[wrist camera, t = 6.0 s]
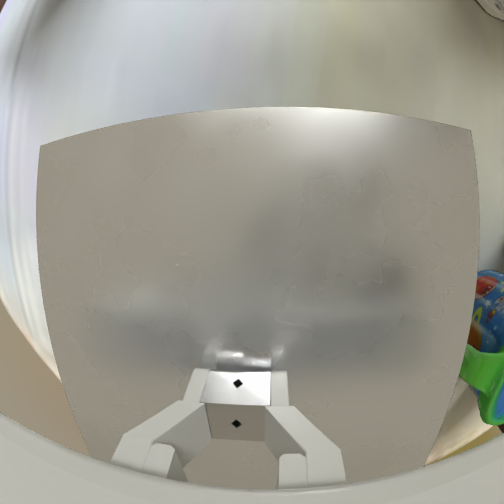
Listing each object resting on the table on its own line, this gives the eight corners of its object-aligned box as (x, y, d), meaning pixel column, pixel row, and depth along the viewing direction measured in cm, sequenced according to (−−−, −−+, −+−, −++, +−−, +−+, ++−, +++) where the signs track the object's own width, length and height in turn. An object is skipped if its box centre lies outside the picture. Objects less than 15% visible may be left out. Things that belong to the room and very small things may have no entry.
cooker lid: (454, 137, 9) (470, 130, 8) (397, 489, 11) (402, 502, 9) (57, 151, 10) (40, 145, 9) (119, 483, 12) (112, 495, 10)
